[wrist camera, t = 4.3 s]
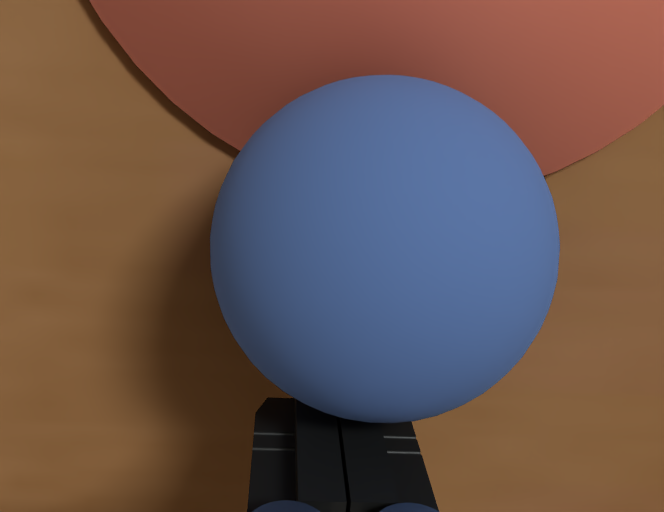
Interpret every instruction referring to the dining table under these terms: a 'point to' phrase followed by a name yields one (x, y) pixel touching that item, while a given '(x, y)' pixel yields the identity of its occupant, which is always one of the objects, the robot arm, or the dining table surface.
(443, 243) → the ball
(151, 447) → the dining table surface
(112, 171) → the dining table surface
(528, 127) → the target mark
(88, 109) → the dining table surface
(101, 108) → the dining table surface
